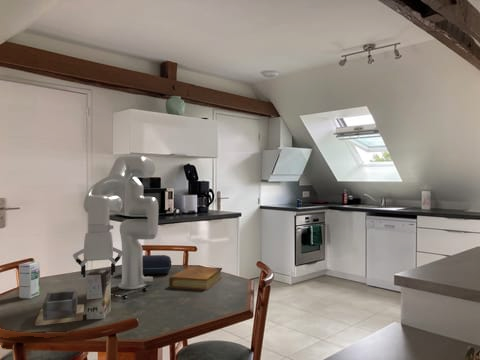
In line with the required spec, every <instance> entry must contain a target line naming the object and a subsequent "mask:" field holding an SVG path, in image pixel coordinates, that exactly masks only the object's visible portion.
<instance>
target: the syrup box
mask: <svg viewBox="0 0 480 360" xmlns="http://www.w3.org/2000/svg"><path fill="white" fill-rule="evenodd" d="M40 264H41V263H40V261H28V262H24V263H20V264H18V283H19V284H18V287H19V288H18V289H19V293H18V294H19V298H21V299H33V298H34V297H37V296H39V295H40V296H41V280H40V279H41V278H40V277H41V275H40V274H41V271H40V266H41V265H40Z"/></svg>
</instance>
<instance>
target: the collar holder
mask: <svg viewBox="0 0 480 360" xmlns="http://www.w3.org/2000/svg"><path fill="white" fill-rule="evenodd" d="M78 292H79V291H78V290H77V289H76V290H66V291H55V292H47V293H46V296H45V298H44V300H43V303H42V308H41V309H40V311H39V313H38V315H37V318H36V320H35V323H34V325H35V327H38V326H47V325H53V324H54V325H55V324H60V323H61V324H62V323H70V322H71V323H72V322H77V321H83V319H84V309H85V304H82V303H81V304H78V298H79V297H78Z"/></svg>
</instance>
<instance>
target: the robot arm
mask: <svg viewBox="0 0 480 360" xmlns="http://www.w3.org/2000/svg"><path fill="white" fill-rule="evenodd" d="M155 172H156V165H155V162H154V161H153V160H152V159H151V158H149V157H146V156H142V155H121V156H119V157H117V158H116V159H115V161H114V162H113V164H112V167H111V168H110V171H109V173H108V175H107V176H105V177H104V178H102V179H100V180H99V181H97V182H95V183H94V184H93V185H92V186H91V187H89V189H88V191H87V193H86V195H85V198H84V200H83V209H84V211H85V213H86V214H87V232H86V233H85V234H84V240H83V248H82V249H80V250H78V251H76V252H74V253H73V254H72V257H73V259H74V260H75V262H76V263H77V264H78V265H79V266H80V275H81V276H82V277H83V278H86V263H88V262H93V261H106V260H107V261H108V260H109V261H110V262H111V263H110V269H111V276H114V273H116V264H117V263H118V261H119V260H121V282H119V284H118V288H119V289H122V290H137V289H142V288H144V287H146V286H147V282H153V281H154V277H153V276H149V275H148V276H144V274H143V255H144V254H143V253H144V252H143V251H144V249H143V246H142V244H141V242H139V240H155V238H157V236H158V232H159V231H158V229H159V202H158V199H157V198H156V197H154V196H144V189H145V188H144V184H143V183H142V182H141V180H140V179H139V178H150V177H151V178H152V177H153V176H154V174H155ZM122 190H124V193H125V194H124V203H123V199H122V198H121V197H120V196H118V195H116V194H115V195H114V194H112V193H116V192H119V191H122ZM123 204H124V214H125V215H126V216H128V217H146V218H147V219H146V218H143V219H142V218H131V219H130V218H129V219H125V220H123V221H121V222H120V225H119V234H120V235H119V236H120V240H121V249H118V248H116V247H114V245H113V244H114V243H113V241H114V240H113V233H112V231H110V230H113V229H114V225H111V224H110V215H118V213H120V212H121V211H122V209H123ZM114 252H115V253H116V254H117V256H116V257H115V258H114V257H113V256H114ZM80 255H83V260H82V259H80V257H79V256H80Z"/></svg>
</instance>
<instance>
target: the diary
mask: <svg viewBox="0 0 480 360" xmlns="http://www.w3.org/2000/svg"><path fill="white" fill-rule="evenodd" d="M221 271H223V267H213V266H210V267H209V266H193V265H189V266H187V267H186V268H184V269H182V270H180V271H178V272H177V273H175V274H173V275H172V276H170V277H169V279H168V287H169V288H170V289H182V290H198V291H208V290H210V289H211V288H212V287H213V286H215V284H217V283H218V282H219V281H220V280H222V278H223V277H222V275H221V273H222V272H221Z"/></svg>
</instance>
